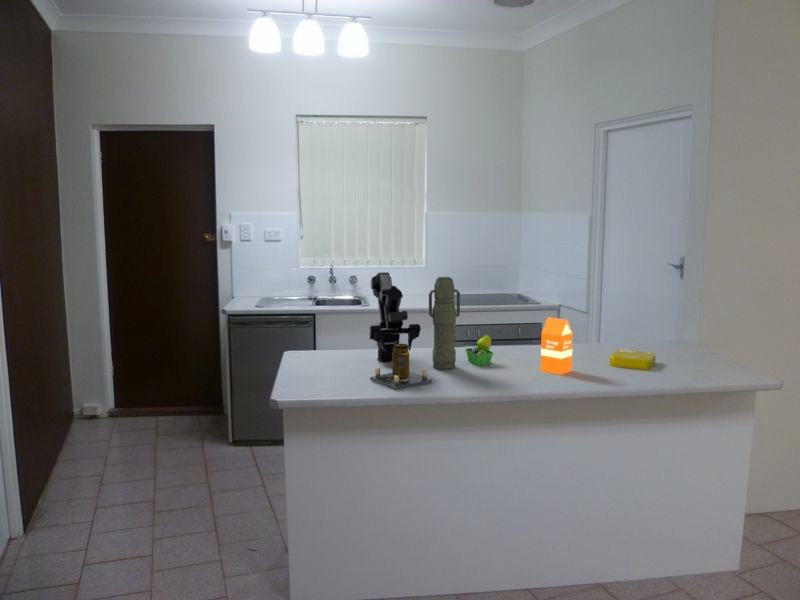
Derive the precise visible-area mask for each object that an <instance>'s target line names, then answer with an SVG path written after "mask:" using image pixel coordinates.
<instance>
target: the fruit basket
mask: <svg viewBox="0 0 800 600" xmlns="http://www.w3.org/2000/svg"><path fill="white" fill-rule="evenodd" d="M476 344H477V346H474V347H470V348H469V347H468V348H465V349H464V350H465V352H466V356H467V359H468V360H467V361H468V362H469V363H471V364H473V365H475V366H477V367H483V366H484V367H485V366H490V365H491V361H492V357H493V355H494V352H492V351H490V349H491V347H492V345H491V344H492V339H491V336H490V335H488V334H484V335H482V338H480V339H478V340H477V342H476Z"/></svg>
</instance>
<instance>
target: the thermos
mask: <svg viewBox="0 0 800 600" xmlns="http://www.w3.org/2000/svg"><path fill="white" fill-rule="evenodd" d="M455 293H456V306H455V300H454V299H455ZM433 295H434V301H433ZM433 303H434V304H433ZM460 314H461V293H460V291H459V290H458V289H456V288H455V283H454V280H453V278H451V277H450V276H438V277H437V278H436V279H435V282H434V289H432V290H430V292H429V293H428V315H429V316H430V317H431V318H432V324H433V349H432V364H433V365H432V368H433V370H438V371H451V370H455V369H456V360H457V358H456V357H457V356H456V355H457V353H456V352H457V351H456V349H455V326H456V325H455V324H456V323H457V322H456V320H457V319H456V318H457V317H460Z"/></svg>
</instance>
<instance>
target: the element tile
mask: <svg viewBox="0 0 800 600" xmlns="http://www.w3.org/2000/svg"><path fill="white" fill-rule="evenodd" d="M654 365H656V353H655V352H650V351H639V350H630V349H626V348H624V349H622V348H621V349H620V348H619V349H616V350H615V351H614V352H613V353H612V354H610V357H609V366H610V367H611V368H612V367H614V368H622V369H630V370H631V369H632V370H640V371H650V370H651V369H652V368H653V367H654Z"/></svg>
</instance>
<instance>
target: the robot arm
mask: <svg viewBox="0 0 800 600" xmlns="http://www.w3.org/2000/svg"><path fill="white" fill-rule="evenodd" d="M390 275H391V274H390V272H385V271H384V272H377V273H376V275H375V276H373V277H371V279H370V289H371V290H372V295H373V296H374V297H375V298H376V299H377V304H378V312H379V317H380V318H379V319H380V320H379V321H380V323H379V325H378V324H377V325H375V324H373V325H371V326H370V327H369V336H368V337H369V339H370V340H373V341H374V342H376V346H377V347H378V350H377V357H376V360H378V361H381V362H383V363H390V362H393V359H392V353H393V351H394V350H393V349H394V347H393V346H394V345H395V344H400V337H401V335H403V334H404V335H405V334H407V345H408V352H410V351H411V350H412V349H411V348H412V343H413V341H414V340H416V338H418V337H420V333H421V325H420V324H419V323H409V324H408V327H403V325H404V323H403V322H404V321H407V320H408V318H409V317H408V310H401V311H400V306H401V303H402V299H403V293H402V291H401V290H400V289H399V288H398V287H397V286H396V285H393V282H392V276H390Z"/></svg>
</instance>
